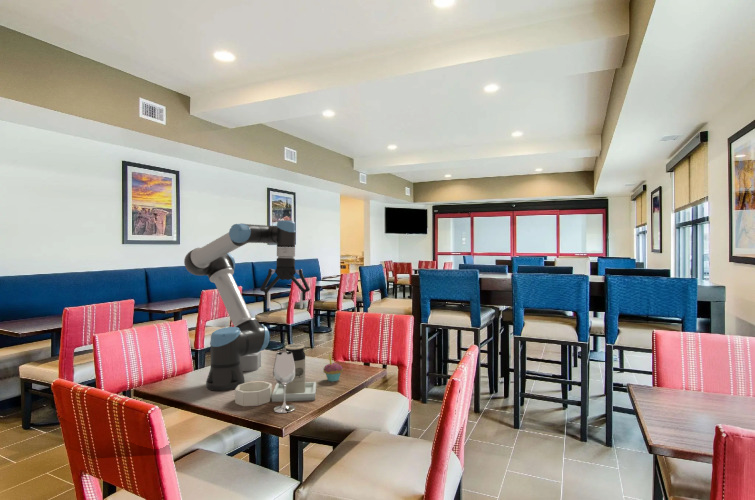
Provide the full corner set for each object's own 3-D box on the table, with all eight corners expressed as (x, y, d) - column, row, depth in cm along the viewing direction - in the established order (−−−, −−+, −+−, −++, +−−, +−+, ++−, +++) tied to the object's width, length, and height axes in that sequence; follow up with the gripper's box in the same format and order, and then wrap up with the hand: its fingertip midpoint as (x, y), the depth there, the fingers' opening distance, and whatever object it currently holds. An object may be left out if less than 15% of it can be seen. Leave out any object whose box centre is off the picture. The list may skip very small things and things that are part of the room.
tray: (271, 401, 155) (271, 395, 155) (276, 389, 169) (276, 383, 169) (314, 400, 157) (314, 393, 157) (316, 387, 171) (316, 381, 171)
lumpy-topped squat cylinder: (256, 371, 195) (256, 352, 195) (228, 371, 195) (228, 352, 195) (262, 365, 205) (262, 347, 205) (235, 365, 205) (235, 347, 205)
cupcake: (330, 384, 175) (330, 355, 175) (319, 379, 182) (319, 352, 182) (346, 380, 181) (346, 352, 181) (335, 375, 187) (335, 349, 187)
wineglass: (287, 414, 143) (287, 356, 143) (268, 411, 146) (268, 354, 146) (299, 406, 150) (299, 351, 150) (281, 403, 153) (281, 349, 153)
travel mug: (283, 390, 165) (283, 344, 165) (303, 387, 168) (303, 343, 168) (286, 396, 158) (286, 349, 158) (307, 394, 160) (307, 347, 160)
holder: (232, 406, 150) (232, 392, 150) (240, 394, 163) (240, 381, 163) (268, 405, 152) (268, 391, 152) (273, 393, 164) (273, 380, 164)
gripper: (253, 257, 169) (252, 309, 170) (315, 258, 171) (314, 309, 171) (257, 256, 177) (256, 306, 177) (316, 257, 179) (315, 306, 179)
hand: (285, 308), depth 174 cm, fingers open, 13 cm apart
